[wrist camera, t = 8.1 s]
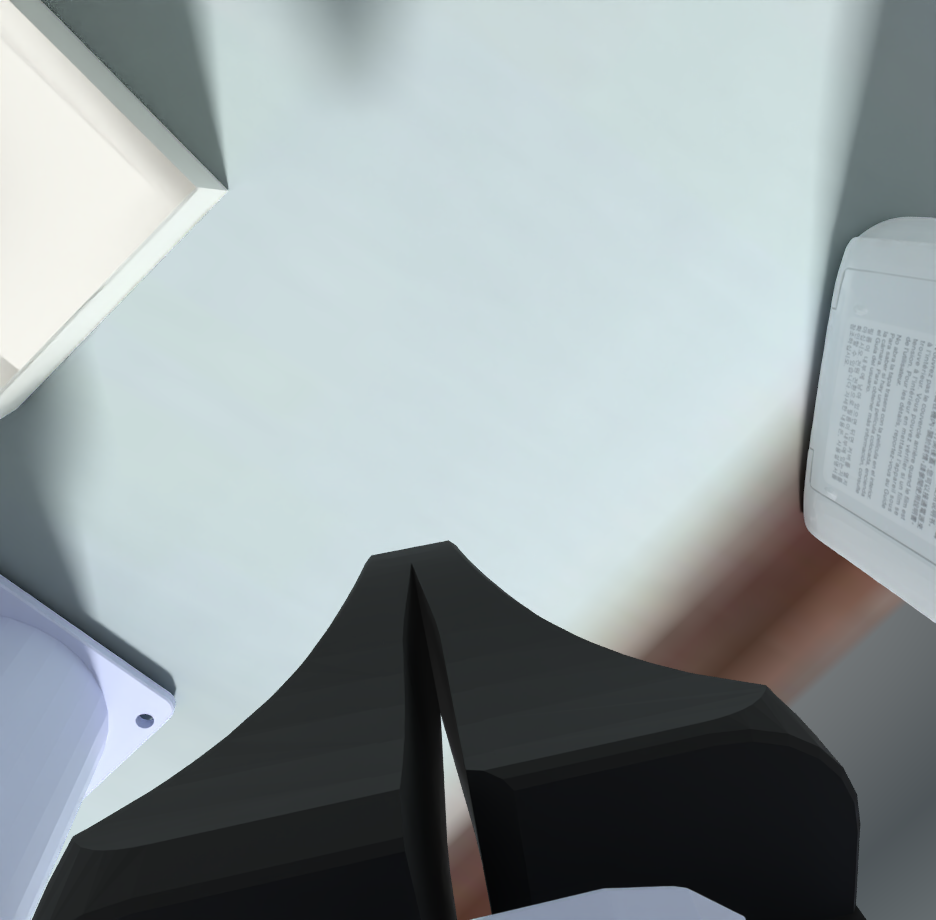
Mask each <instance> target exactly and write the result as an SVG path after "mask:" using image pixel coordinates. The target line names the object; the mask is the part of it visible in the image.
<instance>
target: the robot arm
mask: <svg viewBox="0 0 936 920" xmlns="http://www.w3.org/2000/svg"><path fill="white" fill-rule="evenodd" d="M175 706H176V701H175V698H174V696H173V695H172V694H171V693H170V692H168V691H167V690H165V689H164V688H163V687H161V686H160V685H158V684H157V683H155V682H154V681H153V680H151V679H150V678H148V677H147V676H145V675H144V674H143V673H141V672H140V671H138V670H137V669H135V668H134V667H133V666H131V665H130V664H128V663H127V662H125V661H124V660H122V659H121V658H120V657H118V656H117V655H115V654H114V653H112V652H111V651H110V650H108V649H107V648H105V647H104V646H102V645H101V644H100V643H98V642H97V641H95V640H94V639H92V638H91V637H90V636H88V635H87V634H85V633H84V632H82V631H81V630H79V629H78V628H77V627H75V626H74V625H72V624H71V623H69V622H68V621H67V620H65V619H64V618H62V617H61V616H59V615H58V614H57V613H55V612H54V611H52V610H51V609H49V608H48V607H47V606H45V605H44V604H42V603H41V602H39V601H38V600H36V599H35V598H34V597H32V596H31V595H29V594H28V593H26V592H25V591H24V590H22V589H21V588H19V587H18V586H16V585H15V584H14V583H12V582H11V581H9V580H8V579H6V578H5V577H3V576H2V575H1V574H0V920H31V918H32V915H33V913H34V911H35V908H36V906H37V904H38V901H39V899H40V897H41V895H42V892H43V890H44V888H45V885H46V883H47V881H48V878H49V876H50V874H51V872H52V869H53V867H54V865H55V862H56V860H57V858H58V855H59V853H60V851H61V849H62V846H63V844H64V842H65V839H66V837H67V835H68V832H69V830H70V828H71V826H72V823H73V821H74V819H75V816H76V814H77V812H78V810H79V807H80V805H81V803H82V800H83V799H84V798H85V797H86V796H87V795H88V794H89V793H90V792H91V791H93V790H94V789H95V788H96V787H97V786H98V785H99V784H100V783H101V782H102V781H103V780H104V779H105V778H107V777H108V776H109V775H110V774H111V773H112V772H113V771H114V770H115V769H116V768H117V767H118V766H119V765H120V764H122V763H123V762H124V761H125V760H126V759H127V758H128V757H129V756H130V755H131V754H132V753H133V752H134V751H136V750H137V749H138V748H139V747H140V746H141V745H142V744H143V743H144V742H145V741H146V740H147V739H148V738H149V737H151V736H152V735H153V734H154V733H155V732H156V731H157V730H158V729H159V728H160V727H161V726H162V725H163V724H165V723H166V722H167V721H168V720H169V719H170V718H171V716H172V715H173V713H174V710H175ZM141 714H149V715H151V716H152V717H153V719H152V720H145V719H142V718H141V717H140V715H141ZM441 716H442V720H443V724H444V727H445V731H446V734H447V738H448V741H449V745H450V748H451V752H452V755H453V759H454V762H455V766H456V769H457V773H458V776H459V779H460V783H461V786H462V790H463V793H464V797H465V800H466V804H467V807H468V811H469V814H470V818H471V821H472V825H473V828H474V832H475V835H476V839H477V844H478V848H479V852H480V856H481V860H482V864H483V870H484V875H485V880H486V886H487V891H488V897H489V902H490V907H491V913H492V915H489V916H485V917H481V918H476V919H472V920H866V918H865V917H864V916H863V914H862V913H861V911H860V910H859V909H858V907H857V906H856V893H857V874H858V856H859V854H858V853H859V837H860V817H859V808H858V800H857V794H856V792H855V790H854V788H853V786H852V784H851V782H850V780H849V778H848V776H847V774H846V772H845V770H844V768H843V767H842V766H841V765H840V763H839V762H838V761H837V760H836V759H835V758H834V757H833V755H832V754H831V753H830V752H829V750H828V749H827V748H826V747H825V746H824V745H823V743H822V742H821V741H820V740H819V739H818V737H817V736H816V735H815V734H814V733H813V732H812V731H811V730H810V729H809V728H808V726H807V725H806V724H805V723H804V722H803V721H802V720H801V719H800V718H799V717H798V716H797V715H796V714H795V713H794V712H793V711H792V710H791V709H790V708H789V707H788V706H787V705H785V704H784V703H783V702H782V701H781V700H780V699H779V698H778V697H777V696H776V695H775V694H774V693H773V692H772V691H771V690H770V689H769V688H768V687H767V686H766V685H761V684H754V683H748V682H742V681H736V680H730V679H723V678H717V677H711V676H705V675H698V674H693V673H689V672H684V671H680V670H676V669H672V668H668V667H665V666H661V665H657V664H653V663H649V662H646V661H643V660H639V659H636V658H633V657H630V656H626V655H623V654H621V653H618V652H615V651H613V650H610V649H608V648H605V647H602V646H600V645H597V644H594V643H592V642H589V641H587V640H585V639H583V638H580V637H578V636H576V635H574V634H572V633H570V632H568V631H566V630H564V629H562V628H560V627H558V626H556V625H554V624H552V623H550V622H548V621H547V620H545V619H543V618H541V617H540V616H538V615H536V614H535V613H533V612H532V611H530V610H529V609H528V608H526V607H525V606H523V605H522V604H520V603H519V602H517V601H516V600H515V599H513V598H512V597H511V596H509V595H508V594H507V593H506V592H504V591H503V590H502V589H501V588H500V587H498V586H497V585H496V584H495V583H493V582H492V581H491V580H490V579H489V578H487V577H486V576H485V575H484V574H483V573H482V572H481V571H480V570H479V569H478V568H477V567H476V566H474V565H473V564H472V563H471V562H470V561H469V560H468V559H467V558H466V556H465V555H464V554H463V553H462V552H461V551H460V550H459V548H458V547H457V546H456V545H454V544H453V543H452V542H450V541H444V542H439V543H433V544H428V545H423V546H418V547H413V548H408V549H403V550H397V551H392V552H387V553H382V554H377V555H372V556H371V557H370V558H369V559H368V561H367V562H366V563H365V565H364V568H363V570H362V572H361V574H360V576H359V578H358V579H357V581H356V583H355V585H354V587H353V589H352V590H351V592H350V594H349V596H348V598H347V599H346V601H345V603H344V604H343V606H342V607H341V609H340V611H339V612H338V614H337V616H336V617H335V619H334V620H333V622H332V624H331V625H330V627H329V628H328V629H327V631H326V632H325V634H324V635H323V636H322V638H321V639H320V641H319V642H318V643H317V645H316V646H315V647H314V649H313V650H312V652H311V653H310V654H309V656H308V657H307V658H306V660H305V661H304V662H303V663H302V664H301V666H300V667H299V668H298V669H297V670H296V671H295V672H294V674H293V675H292V676H291V677H290V678H289V679H288V680H287V681H286V682H285V683H284V684H283V685H282V686H281V687H280V688H279V690H278V691H277V692H276V693H275V694H274V695H273V696H272V697H271V698H270V699H269V700H267V701H266V702H265V703H264V704H263V705H262V706H261V707H260V708H258V709H257V710H256V711H255V712H254V713H253V714H252V715H251V716H249V717H248V718H247V719H246V720H245V721H244V722H243V723H241V724H240V725H239V726H238V727H237V728H236V729H235V730H234V731H232V732H231V733H230V734H229V735H228V736H227V737H225V738H224V739H223V740H222V741H220V742H219V743H218V744H217V745H215V746H214V747H213V748H211V749H210V750H209V751H207V752H206V753H205V754H203V755H202V756H201V757H199V758H198V759H197V760H195V761H194V762H193V763H191V764H190V765H188V766H187V767H185V768H184V769H183V770H181V771H180V772H178V773H177V774H175V775H174V776H173V777H171V778H170V779H168V780H167V781H165V782H164V783H162V784H161V785H159V786H158V787H156V788H155V789H153V790H152V791H150V792H148V793H147V794H145V795H143V796H142V797H140V798H138V799H137V800H135V801H133V802H132V803H130V804H128V805H126V806H125V807H123V808H121V809H120V810H118V811H116V812H115V813H113V814H111V815H110V816H108V817H106V818H105V819H103V820H101V821H100V822H98V823H96V824H95V825H93V826H91V827H89V828H88V829H86V830H84V831H82V832H80V833H78V834H77V835H75V836H73V837H72V839H71V841H70V843H69V845H68V847H67V849H66V851H65V852H64V854H63V856H62V858H61V860H60V862H59V864H58V866H57V867H56V869H55V871H54V873H53V875H52V877H51V879H50V881H49V882H48V885H47V887H46V889H45V891H44V894H43V896H42V898H41V900H40V903H39V905H38V907H37V909H36V912H35V914H34V916H33V918H32V920H457V916H456V910H455V903H454V896H453V889H452V882H451V876H450V867H449V857H448V846H447V830H446V810H445V790H444V770H443V750H442V732H441Z"/></svg>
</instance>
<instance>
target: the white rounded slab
mask: <svg viewBox="0 0 936 920" xmlns="http://www.w3.org/2000/svg"><path fill="white" fill-rule="evenodd" d="M804 521H805V524H806V527H807V529H808V530H809V531H810V532H811V534H813V535H814V536H815V537H816V538H818V539H819V540H820V541H821V542H823V543H824V544H826V545H827V546H829V547H830V548H831V549H833V550H834V551H836V552H837V553H838V554H840V555H841V556H843V557H844V558H845V559H847V560H848V561H850V562H851V563H853V564H854V565H855V566H857V567H858V568H860V569H861V570H862V571H864V572H865V573H867V574H868V575H869V576H871V577H872V578H873V579H875V580H876V581H878V582H879V583H880V584H882V585H883V586H885V587H886V588H888V589H889V590H890V591H892V592H893V593H895V594H896V595H897V596H899V597H900V598H902V599H903V600H904V601H906V602H907V603H908V604H910V605H911V606H913V607H914V608H915V609H917V610H918V611H920V612H921V613H922V614H924V615H925V616H927V617H928V618H929V619H931V620H932V621H933V622H935V623H936V218H934V217H898V218H892V219H889V220H886V221H883V222H880V223H878V224H876V225H874V226H873V227H871V228H869V229H868V230H866V231H865V232H863V233H862V234H861V235H860V236H859V237H854V238H852V239H851V240H850V242H849V243H848V245H847V247H846V249H845V252H844V255H843V258H842V261H841V265H840V268H839V271H838V275H837V279H836V283H835V288H834V294H833V298H832V304H831V310H830V316H829V322H828V327H827V333H826V340H825V347H824V352H823V358H822V364H821V371H820V377H819V384H818V390H817V397H816V404H815V411H814V419H813V425H812V431H811V438H810V446H809V451H808V459H807V468H806V477H805V487H804Z"/></svg>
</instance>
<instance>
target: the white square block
mask: <svg viewBox="0 0 936 920" xmlns="http://www.w3.org/2000/svg"><path fill="white" fill-rule="evenodd" d="M227 192H228V190H227V189H226V188H225V187H224V186H223V185H222V184H221V183H220V182H219V181H218V180H217V179H216V178H215V176H214V175H213V174H212V173H211V172H210V171H209V170H208V169H207V168H206V167H205V166H204V165H203V164H202V163H201V162H200V161H199V160H198V159H197V158H196V157H195V156H194V155H193V154H192V153H191V152H190V151H189V150H188V149H187V148H186V147H185V146H184V145H183V144H182V143H181V142H180V141H179V140H178V139H177V138H176V137H175V136H174V135H173V134H172V133H171V132H170V131H169V130H168V129H167V128H166V127H165V126H164V125H163V124H162V123H161V122H160V121H159V120H158V119H157V118H156V117H155V116H154V115H153V114H152V113H151V112H150V111H149V109H148V108H147V107H146V106H145V105H144V104H143V103H142V102H141V101H140V100H139V99H138V98H137V97H136V96H135V95H134V94H133V93H132V92H131V91H130V90H129V89H128V88H127V87H126V86H125V85H124V84H123V83H122V82H121V81H120V80H119V79H118V78H117V77H116V76H115V75H114V74H113V73H112V72H111V71H110V70H109V69H108V68H107V67H106V66H105V65H104V64H103V63H102V62H101V61H100V60H99V59H98V58H97V57H96V56H95V55H94V54H93V53H92V52H91V51H90V50H89V49H88V48H87V47H86V46H85V45H84V44H83V43H82V41H81V40H80V39H79V38H78V37H77V36H76V35H75V34H74V33H73V32H72V31H71V30H70V29H69V28H68V27H67V26H66V25H65V24H64V23H63V22H62V21H61V20H60V19H59V18H58V17H57V16H56V15H55V14H54V13H53V12H52V11H51V10H50V9H49V8H48V7H47V6H46V5H45V4H44V3H43V2H42V1H41V0H0V419H2V418H3V417H5V416H6V415H8V414H10V413H11V412H13V411H14V410H16V409H17V408H18V407H19V406H20V405H21V404H22V403H23V402H24V401H25V400H26V399H27V398H28V397H29V396H30V395H31V394H32V393H33V392H34V391H35V390H36V389H37V388H38V387H39V386H40V385H41V384H42V383H43V382H44V381H45V380H46V379H47V378H48V377H49V376H50V375H51V373H52V372H53V371H54V370H55V369H56V368H57V367H58V366H59V365H60V364H61V363H62V362H63V361H64V360H65V359H66V358H67V357H68V356H69V355H70V354H71V353H72V352H73V351H74V350H75V349H76V348H77V347H78V346H79V345H80V344H81V343H82V342H83V341H84V340H85V338H86V337H87V336H88V335H89V334H90V333H91V332H92V331H93V330H94V329H95V328H96V327H97V326H98V325H99V324H100V323H101V322H102V321H103V320H104V319H105V318H106V317H107V316H108V315H109V314H110V313H111V312H112V311H113V310H114V309H115V308H116V307H117V306H118V305H119V304H120V302H121V301H122V300H123V299H124V298H125V297H126V296H127V295H128V294H129V293H130V292H131V291H132V290H133V289H134V288H135V287H136V286H137V285H138V284H139V283H140V282H141V281H142V280H143V279H144V278H145V277H146V276H147V275H148V274H149V273H150V272H151V271H152V270H153V269H154V267H155V266H156V265H157V264H158V263H159V262H160V261H161V260H162V259H163V258H164V257H165V256H166V255H167V254H168V253H169V252H170V251H171V250H172V249H173V248H174V247H175V246H176V245H177V244H178V243H179V242H180V241H181V240H182V239H183V238H184V237H185V236H186V235H187V234H188V232H189V231H190V230H191V229H192V228H193V227H194V226H195V225H196V224H197V223H198V222H199V221H200V220H201V219H202V218H203V217H204V216H205V215H206V214H207V213H208V212H209V211H210V210H211V209H212V208H213V207H214V206H215V205H216V204H217V203H218V202H219V201H220V200H221V199H222V198H223V196H224V195H225V194H226V193H227Z"/></svg>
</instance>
